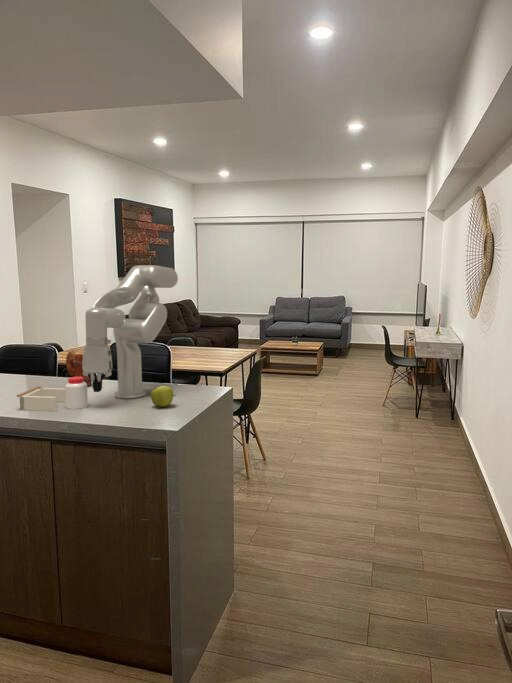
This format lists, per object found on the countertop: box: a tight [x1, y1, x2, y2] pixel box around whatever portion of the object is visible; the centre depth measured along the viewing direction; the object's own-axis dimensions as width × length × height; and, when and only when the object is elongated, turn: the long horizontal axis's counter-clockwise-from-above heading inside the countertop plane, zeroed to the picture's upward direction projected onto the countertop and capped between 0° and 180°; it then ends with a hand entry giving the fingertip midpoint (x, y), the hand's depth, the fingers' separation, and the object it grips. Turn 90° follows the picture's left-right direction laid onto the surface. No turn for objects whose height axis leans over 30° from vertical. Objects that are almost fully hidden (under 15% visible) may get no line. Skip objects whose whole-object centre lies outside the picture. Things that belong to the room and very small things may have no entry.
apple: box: [150, 385, 176, 408], centre depth 191 cm, size 8×9×8 cm
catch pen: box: [16, 385, 66, 412], centre depth 193 cm, size 14×14×6 cm
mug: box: [65, 350, 92, 387], centre depth 227 cm, size 15×8×15 cm, turn 58°
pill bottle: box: [64, 376, 89, 410], centre depth 191 cm, size 8×8×11 cm
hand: (97, 391), depth 189 cm, fingers closed
